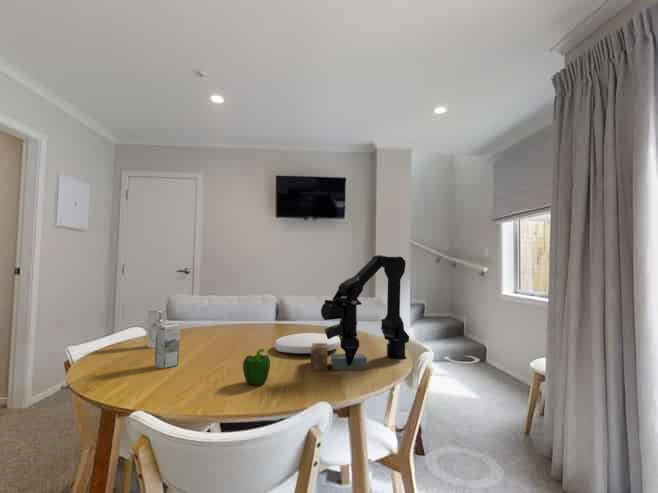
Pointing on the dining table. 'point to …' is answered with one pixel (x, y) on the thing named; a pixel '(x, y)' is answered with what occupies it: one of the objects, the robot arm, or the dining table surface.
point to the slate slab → (341, 363)
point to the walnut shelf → (319, 356)
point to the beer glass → (154, 325)
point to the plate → (304, 342)
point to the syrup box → (167, 345)
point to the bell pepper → (256, 368)
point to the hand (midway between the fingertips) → (348, 361)
